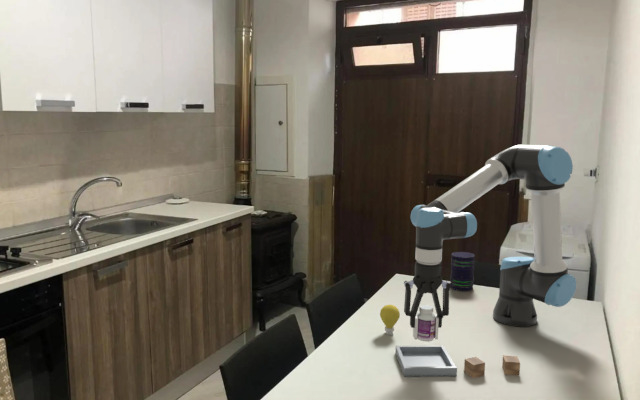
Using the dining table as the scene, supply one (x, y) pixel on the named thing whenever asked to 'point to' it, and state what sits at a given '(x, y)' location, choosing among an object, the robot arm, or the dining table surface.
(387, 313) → the light bulb
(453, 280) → the storage jar
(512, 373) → the walnut block
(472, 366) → the walnut block
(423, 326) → the pill bottle
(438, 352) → the tray
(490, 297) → the dining table surface
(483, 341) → the dining table surface
